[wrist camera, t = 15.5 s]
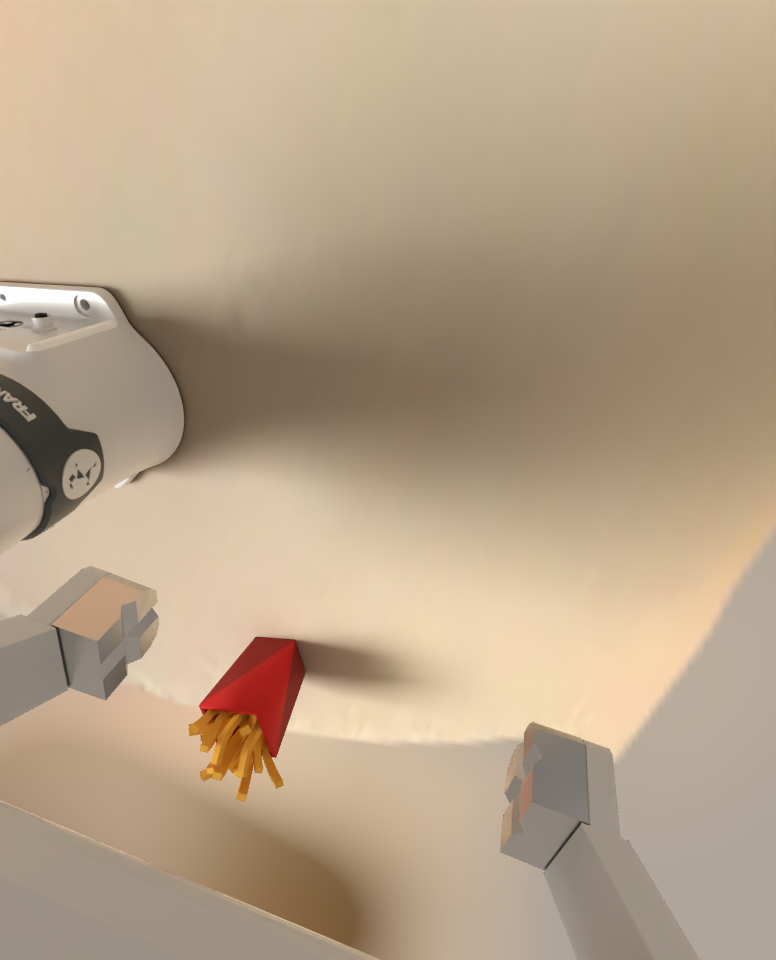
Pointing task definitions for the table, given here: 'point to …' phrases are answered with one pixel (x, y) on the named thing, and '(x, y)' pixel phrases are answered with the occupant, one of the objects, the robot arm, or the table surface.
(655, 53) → the table surface
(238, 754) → the french fries
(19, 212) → the table surface
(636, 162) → the table surface
